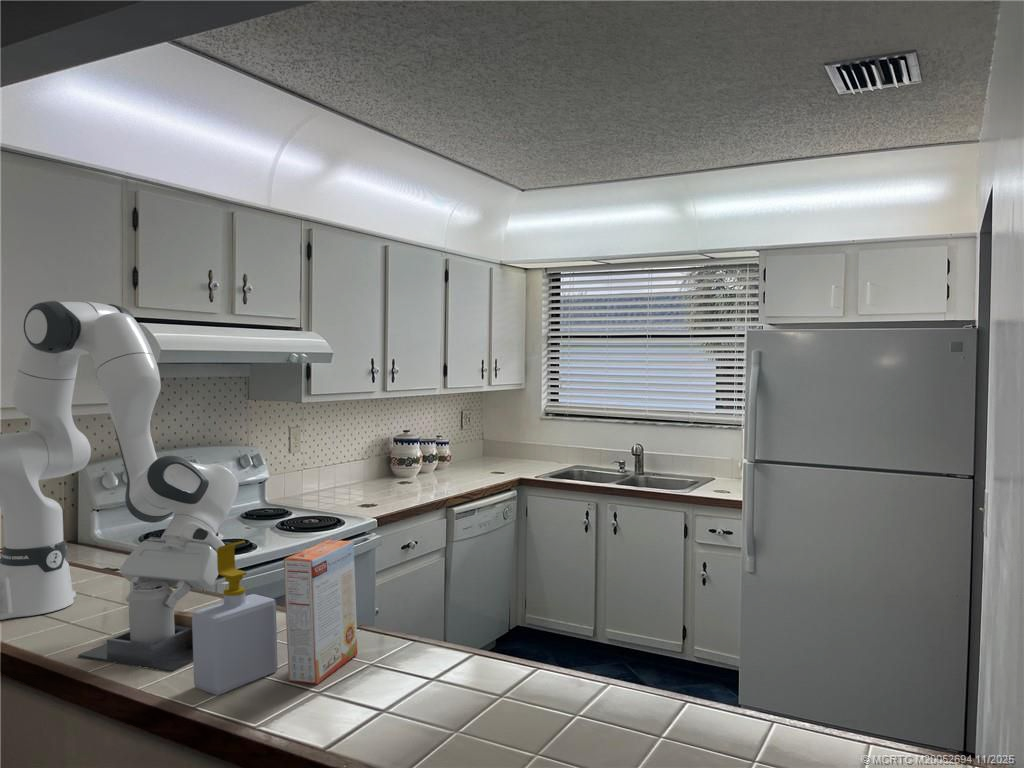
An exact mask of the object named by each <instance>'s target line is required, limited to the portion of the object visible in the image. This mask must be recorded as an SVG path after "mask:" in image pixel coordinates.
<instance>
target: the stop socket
mask: <svg viewBox="0 0 1024 768" xmlns="http://www.w3.org/2000/svg"><path fill="white" fill-rule="evenodd" d="M174 628H175V634H174V635H172V636H170V637H167V638H165V639H163V640H160V641H158V642H156V643H153V644H146V643H139V642H133V641H130V630H128V631H125V632H122V633H120V634H118V635H115V636H112V637H110V638H107V639H106V643H103V644H101V645H99V646H96V647H93V648H91V649H89V650H85V651H83V652H82V653H80V654H78V658H83V659H89V658H93V659H92V660H95V659H98V660H97V661H101V660H105V661H104V662H107V661H110V662H109V663H113V662H116V663H115V664H119V663H120V664H121V665H126V666H132V665H133V666H132V667H138V666H141V667H140V668H144V667H148V668H147V669H150V668H153V669H152V670H157V669H158V671H163V670H164V671H163V672H171V673H172V672H175V671H177V670H179V669H181V668H183V667H185V666H187V665H189V664H191V663H193V632H192V626H184V625H177V624H174ZM190 662H191V663H190Z"/></svg>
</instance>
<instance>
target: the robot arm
mask: <svg viewBox="0 0 1024 768" xmlns="http://www.w3.org/2000/svg"><path fill="white" fill-rule="evenodd" d="M28 309H29V310H28V311H27V312H26V315H25V317H24V320H23V333H24V335H25V341H24V344H23V345H22V346H23V347H22V348H21V351H20V356H19V360H18V364H17V370H16V375H15V381H14V385H13V393H12V399H11V400H12V403H13V405H14V407H15V409H16V410H17V411H18V412H19V413H21V414H22V415H24V416H26V417H28V418H30V428H29V430H28V431H20V432H11V433H9V432H7V433H0V511H1V515H2V520H3V521H2V522H3V530H4V546H3V547H1V548H0V620H7V619H13V618H21V617H22V618H23V617H32V616H38V615H42V614H47V613H51V612H56V611H59V610H62V609H64V608H67V607H69V606H70V605H72V604H73V603H75V599H74V598H75V597H76V596H77V593H76V590H74V589H73V584H72V577H71V571H70V564H69V562H68V561H67V560H66V557H67V549H68V546H67V540H65V539H64V520H63V519H64V518H63V516H64V515H63V508H62V505H60V503H59V502H58V501H57V500H55V499H52V498H50V497H47V496H45V495H44V494H43V493H42V491H41V489H40V485H39V484H40V483H39V481H42V480H43V481H44V480H49V479H56V478H62V477H65V476H68V475H71V474H73V473H76V472H79V471H81V470H83V469H84V468H86V466H87V465H88V464H89V461H90V459H91V455H92V448H91V447H92V446H91V444H90V442H89V440H88V437H86V436H85V434H84V433H83V432H81V431H80V430H79V429H78V428H77V426H76V424H75V422H74V417H73V414H72V413H73V412H72V404H73V397H74V390H75V384H76V378H77V372H78V367H79V366H78V365H79V360H80V357H82V356H84V355H90V357H91V359H92V361H93V365H94V368H95V371H96V374H97V377H98V380H99V383H100V386H101V389H102V391H103V394H104V398H105V401H106V404H107V405H108V409H109V410H108V411H109V413H110V417H111V419H112V423H113V428H114V433H115V436H116V440H117V445H118V447H119V452H120V456H121V458H122V463H123V466H124V470H125V471H124V472H125V474H126V489H125V498H124V500H125V501H124V502H125V504H126V508H127V510H128V511H129V513H130V514H131V515H132V516H133V517H134V518H136V519H137V520H139V521H142V522H144V523H151V524H152V523H154V524H155V523H161V522H163V521H166V520H167V519H169V518H170V517H171V516H173V517H172V519H170V520H171V521H170V522H169V524H168V525H167V527H166V529H165V530H164V531H163V533H162V535H161V537H156V536H150V537H149V538H147V539H145V540H143V541H141V543H139V544H138V545H137V546H136V547H135V548H134V549H133V550H132V552H131V553H130V554H129V555H128V556H127V558H126V560H124V562H123V564H122V565H121V567H120V575H121V576H122V577H123V578H125V579H126V580H127V581H128V582H129V592H128V594H127V596H126V597H125V600H126V601H127V602H128V603H129V596H130V595H131V594H132V592H133V589H132V588H133V587H134V586H137V585H139V584H143V583H148V582H158V581H159V582H167V583H169V587H176V589H174V590H173V593H172V594H171V595H166V597H165V600H163V605H164V606H165V607H168V608H174V609H175V607H176V605H177V603H178V601H179V600H181V599H182V598H183V597H185V596H186V595H187V594H188V593H189V592H190V590H191V589H194V590H208V589H209V588H210V587H212V586H213V584H214V583H215V581H216V580H217V578H218V576H219V573H218V568H217V550H218V548H219V547H221V546H224V545H226V544H225V543H224V541H222V540H221V539H220V538H219V537H218V536H217V533H218V529H219V527H220V525H221V524H222V522H224V521H225V520H226V518H227V517H228V514H229V513H230V511H231V509H232V508H233V505H234V503H235V501H236V499H237V495H238V493H239V486H240V485H239V481H238V478H237V477H236V475H235V474H234V473H233V472H232V470H230V469H229V468H228V467H226V466H225V465H224V466H223V465H221V464H218V463H211V464H210V463H209V464H205V463H204V464H203V463H202V464H201V463H196V462H191V461H190V460H189V461H188V460H186V459H185V458H182V457H181V456H177V455H164V456H162V457H159V458H158V456H157V453H156V450H155V446H154V445H155V444H154V442H153V438H152V433H151V420H152V419H151V418H152V415H153V412H154V408H155V405H156V402H157V400H158V397H159V394H160V392H161V390H162V389H161V388H162V387H161V385H162V384H161V376H160V370H159V367H158V363H157V361H156V358H155V354H154V352H153V350H152V348H151V345H150V343H149V341H148V339H147V337H146V335H145V333H144V331H143V330H142V328H141V326H140V325H139V323H138V322H137V320H136V319H135V317H134V315H133V314H132V312H131V311H129V310H128V309H127V308H125V307H122V306H119V305H117V304H116V305H115V304H113V303H109V304H106V303H100V302H92V301H86V300H85V301H56V300H49V301H41V302H38V303H35V304H33V305H32V306H31V307H30V308H28Z"/></svg>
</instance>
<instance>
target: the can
mask: <svg viewBox="0 0 1024 768" xmlns="http://www.w3.org/2000/svg"><path fill="white" fill-rule="evenodd" d="M132 589H133V592H132V594H131V595H130V596H129V602H128V607H129V608H128V613H129V615H130V624H129V631H130V641H133V642H139V643H146V644H153V643H156V642H158V641H160V640H163V639H165V638H167V637H170V636H172V635H174V634H175V628H174V610H175V607H174V608H168V607H165V606H164V605H163V600H165V597H166V595H171V594H172V593H173V592H174V590H173V589H172V588H171V587H170V586H169V583H167V582H159V581H158V582H148V583H143V584H139V585H137V586H134V587H133V588H132ZM129 615H128V616H129Z"/></svg>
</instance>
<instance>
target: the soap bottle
mask: <svg viewBox="0 0 1024 768" xmlns="http://www.w3.org/2000/svg"><path fill="white" fill-rule="evenodd" d="M244 543H245V540H241V541H236V542H231V543H228V544H225V545H224V546H221V547H219V548H218V550H217V568H218V573H219V574H218V576H221V577H224V579H225V581H224V582H227V583H228V587H227V588H224V590H223V602H221V603H217V604H215V605H211V606H207V607H204V608H201V609H197V610H195V611H193V612H192V613H193V614H192V632H193V662H192V663H193V664H192V665H193V666H192V667H193V684H194V687H195V688H197V689H199V690H202V691H203V692H206V693H210V694H212V695H215V696H217V695H222V694H224V693H226V692H229V691H231V690H234V689H236V688H239V687H242V686H245V685H246V684H249V683H252V682H254V681H256V680H259V679H261V678H264V677H266V676H268V675H272V674H274V673H276V672H277V671H278V638H277V637H278V634H277V631H278V629H277V602H276V599H274V598H271V597H267V596H262V595H260V594H254V593H252V594H249V595H246V588H245V587H244V586H241V585H240V581H242V580H244V578H243V577H244V576H247V574H248V571H245V570H241V569H237V567H236V562H235V561H236V556H235V555H236V554H235V552H236V550H235V549H236V546H238V545H240V544H244Z"/></svg>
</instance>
